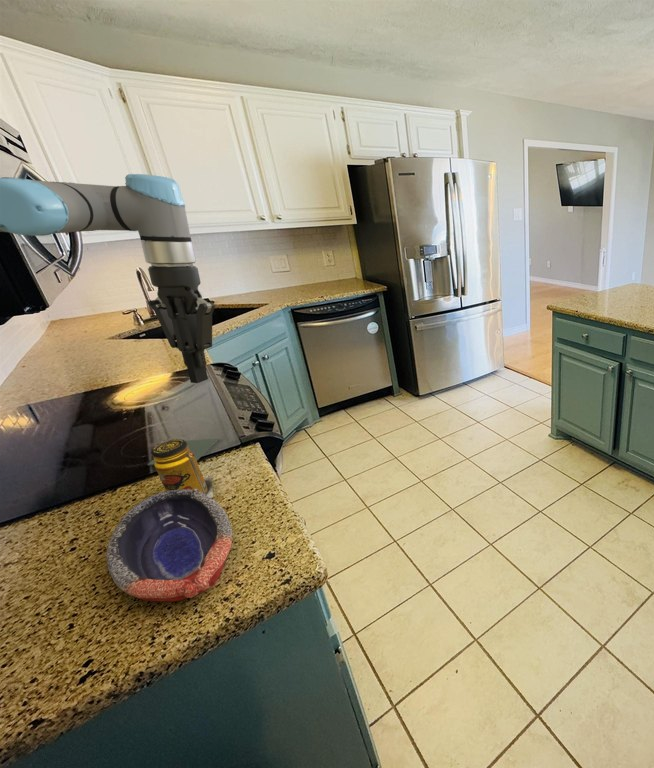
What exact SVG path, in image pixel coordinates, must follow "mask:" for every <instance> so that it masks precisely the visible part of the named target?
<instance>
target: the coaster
mask: <svg viewBox="0 0 654 768" xmlns="http://www.w3.org/2000/svg"><path fill="white" fill-rule="evenodd" d="M219 440H220V439H219V437H217V438H205V439H190V440H189V439H188V440H185V441H186V442H187V446H188V447H189V450H190V451H192V452H193V453H194V456H195V458H196V461H197V462H198V461H199V460H200V458H202V457H203V455H205V454H206V453H207V452H208V451H209V450H210V449H211V448H212V447H213V446H214V445H216V443H217V442H219ZM155 462H156V461H155V460H154V459H152V460H151V461H150V462H149V463H147V467H153V466H154V467H155Z"/></svg>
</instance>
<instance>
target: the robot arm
mask: <svg viewBox="0 0 654 768" xmlns="http://www.w3.org/2000/svg"><path fill="white" fill-rule="evenodd" d="M124 179H125V183H124V184H125V185H117V186H116V185H106V184H105V185H104V184H91V183H76V182H66V181H47V180H37V179H28V178H21V177H6V176H4V177H0V233H10V234H14V235H19V236H29V237H30V236H31V237H35V236H36V237H37V236H39V237H41V236H50V235H52V234H53V235H55V234H63V233H78V232H79V233H81V232H95V231H122V232H123V231H128V232H138V235H139V238H140V243H141V248H142V252H143V257H144V260H145V263H147V264H148V265H149V264H150V266H148V267H147V272H148V275H149V279H150V283H151V285H152V286H153V287H155V288H157V294H156V295H157V297H156V298H155V299H151V300H148V305H149V307H150V308H151V309H152V310H153V312H154V313H155V316H156V318H157V320H158V323H159V324H160V326H161V328H162V331H163V333H164V336H165V338H166V341H167V342H168V344H169V346H170V347H171V348H172V349H178V351H179V352H181V356H182V359H183V363H184V365H185V367H186V368H187V372H188V373H187V374H188V376H189V381H190V383H191V384H199V383H202V382H204V381H208V380H209V377H208V372H207V368H206V366H207V359H206V354H205V351H206V349H207V350H208V349H210V348H212V347H213V313H214V311H215V307H216V304H215V303H214V302H213V301H211V302H208V301H207V300H205V299H204V298H203V294H202V293H201V292H200V290H199V286H200V285H201V283H202V282H201V277H200V274H199V273H200V272H199V268H198V267H197V266H195V265H194V264H196V262H197V260H196V256H195V251H194V246H193V242H192V237H191V233H190V228H189V222H188V217H187V212H186V204H185V203H184V198H183V195H182V192H181V189H180V188H181V187H180V185H179V183H178V182H177V181H176V180H174V179H173V178H170V177H167V176H161V175H156V174H155V175H153V174H143V173H129V174H126V175H125V177H124Z"/></svg>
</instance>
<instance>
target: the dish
mask: <svg viewBox="0 0 654 768" xmlns="http://www.w3.org/2000/svg"><path fill="white" fill-rule="evenodd" d="M233 534H234V533H233V528H232V524H231V522H230V518H229V516H228V515H227V513H226V511H225V510H224V508H223V507H222V505H220V503H218V502H217V501H216V500H214V499H213V497H211V498H210V497H208V496H207V495H205V494H204V493H202V492H200V491H198V490H197V489H193V490H187V489H179V490H170V491H166V490H165V491H161V492H158V493H155V494H153V495H151V496H149V497H147V498H145V499H143V500H142V501H140V502H138V503H137V504H136V505H134V506H133V507H132V508H131V509H129V511H128V512H126V513H125V514H124V515H123V516H122V518H121V519H120V521H119V522H118V523H117V525H116V526H115V527H114V530H113V531H112V533H111V536H110V538H109V541H108V544H107V548H106V566H107V570H108V573H109V575H110V577H111V579H112V581H113V582H114V584H115V585H116V586H117V587H118V589H120V591H122V592H124V593H125V594H127V595H129V596H131V597H133V598H136V599H139V600H143V601H146V602H179V601H182V600H184V599H192V598H194V597H196V596H197V595H199V594H203V593H204V592H207V590H208V591H209V590H210V589H211V588H212V587H214V586H215V584H216V583H217V582H218V580H219V577H220V575H221V573H222V571H223V569H224V567H225V564H226V563H227V561H228V558H229V556H230V554H231V549H232V545H233V541H234V539H233V538H234V537H233V536H234V535H233Z"/></svg>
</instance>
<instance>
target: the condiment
mask: <svg viewBox="0 0 654 768" xmlns="http://www.w3.org/2000/svg"><path fill="white" fill-rule="evenodd" d="M186 441H187V440H184V439H179V438H178V439H172V440H171V439H170V440H167V441H163V442H162V443H159V444H158V445H155V447H153V448H152V449H151V456H153V460H155V461H156V462H155V466H154V469H155V471H156V472H157V474H158V476H159V479H160V482H161V484H162V486H163V488H164V490H165V491H170V490H179V489H187V490H193V489H197V490H198V491H200V492H202V493H204V494H205V495H207V496H208V497H210V498H213V497H214V487H213V478H212V477H213V476H212V475H210V476H207V477H206V478H204V476H203V473H202V471H201V468H200V466H199V463H198V460H197V461H196V458H195V456H194V453H193V452H192V451H190V450H189V447H188V446H187V442H186Z"/></svg>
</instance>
